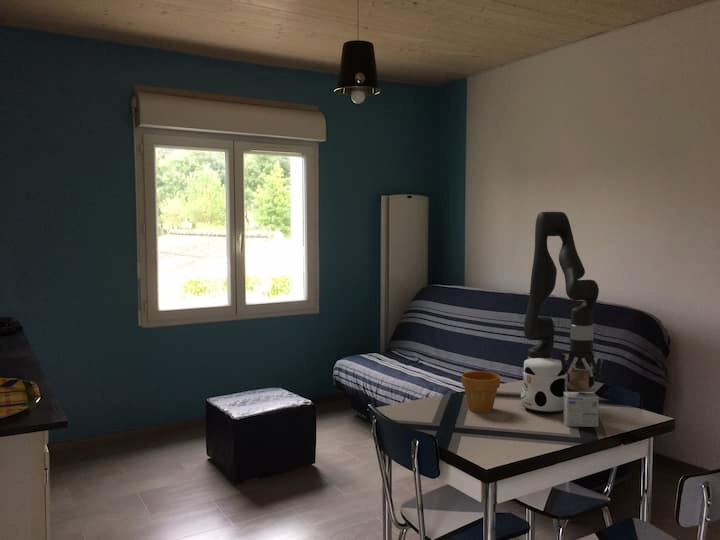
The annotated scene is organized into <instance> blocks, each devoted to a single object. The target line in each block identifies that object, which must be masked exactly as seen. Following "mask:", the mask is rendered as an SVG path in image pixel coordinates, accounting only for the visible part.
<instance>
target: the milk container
mask: <svg viewBox="0 0 720 540" xmlns="http://www.w3.org/2000/svg"><path fill="white" fill-rule="evenodd" d="M522 373H523V377H522V378H523V380H522V381H523V383H522V387H521V390H520V391H521V392H520V400H521V401H520V402H521V405H522V406H523V407H524V408H525V409H527V410H529V411H531V412H537V413H543V414H554V413H555V414H557V413H561V412H564V392H569V391H568V389H567V388H568V387H567V381H568V373H567V372H565V371H563V370H562V363H561V359H555V358H552V359H547V358H533V359H528V358H527V359H525V360H524V361H523V372H522Z"/></svg>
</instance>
